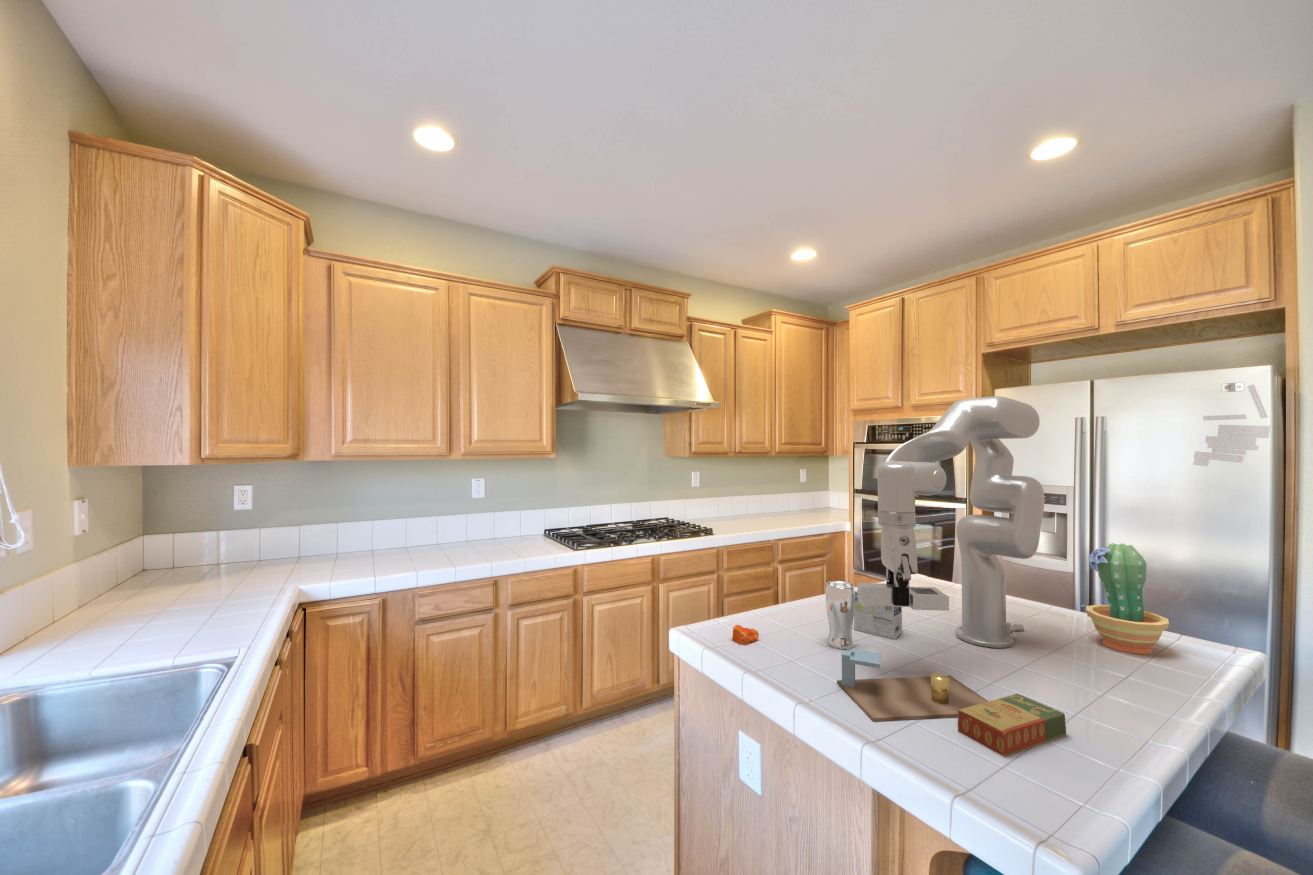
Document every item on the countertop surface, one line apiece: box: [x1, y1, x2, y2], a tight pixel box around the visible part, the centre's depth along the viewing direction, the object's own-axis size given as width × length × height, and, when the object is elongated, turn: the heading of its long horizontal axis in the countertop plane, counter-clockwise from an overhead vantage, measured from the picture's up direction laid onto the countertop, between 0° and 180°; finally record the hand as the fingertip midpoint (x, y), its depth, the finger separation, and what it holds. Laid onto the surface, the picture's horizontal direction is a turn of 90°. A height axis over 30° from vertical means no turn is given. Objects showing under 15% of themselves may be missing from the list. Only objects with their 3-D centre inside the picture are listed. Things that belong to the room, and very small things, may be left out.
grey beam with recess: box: [857, 582, 950, 612], centre depth 113 cm, size 17×7×4 cm, turn 83°
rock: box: [731, 624, 760, 646], centre depth 131 cm, size 12×12×4 cm
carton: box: [957, 693, 1067, 757], centre depth 88 cm, size 8×16×4 cm, turn 112°
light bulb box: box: [853, 588, 903, 640], centre depth 137 cm, size 11×7×11 cm, turn 48°
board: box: [836, 674, 989, 723], centre depth 101 cm, size 25×15×1 cm, turn 95°
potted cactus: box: [1085, 542, 1170, 655], centre depth 126 cm, size 15×15×25 cm
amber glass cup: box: [930, 673, 949, 704], centre depth 98 cm, size 3×3×4 cm
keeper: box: [841, 648, 882, 687], centre depth 104 cm, size 7×6×7 cm
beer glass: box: [825, 580, 855, 650], centre depth 128 cm, size 7×7×15 cm
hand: (897, 601), depth 113 cm, fingers closed on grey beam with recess, 3 cm apart
